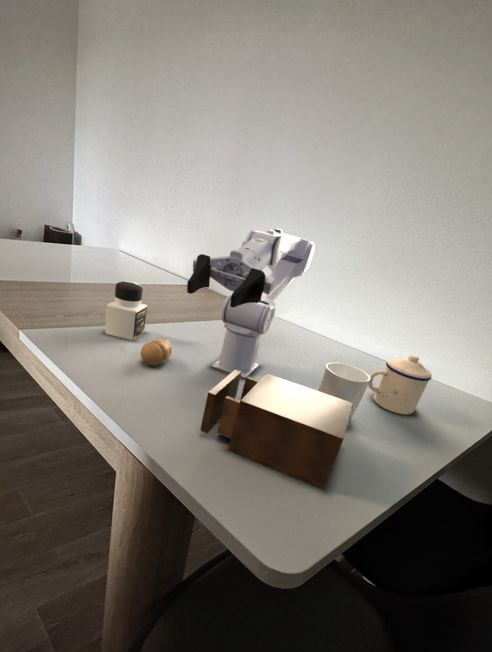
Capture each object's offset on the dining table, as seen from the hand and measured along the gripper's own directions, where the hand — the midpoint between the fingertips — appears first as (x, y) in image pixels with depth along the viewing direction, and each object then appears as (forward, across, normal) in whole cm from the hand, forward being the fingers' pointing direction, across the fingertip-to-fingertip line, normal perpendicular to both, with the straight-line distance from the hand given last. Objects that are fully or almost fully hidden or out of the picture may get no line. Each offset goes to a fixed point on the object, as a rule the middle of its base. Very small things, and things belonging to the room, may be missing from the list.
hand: (210, 294), depth 61 cm
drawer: (+8, +12, +17) cm, 22 cm away
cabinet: (+8, +19, +18) cm, 27 cm away
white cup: (-8, +24, +22) cm, 33 cm away
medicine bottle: (-12, -28, +25) cm, 39 cm away
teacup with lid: (-24, +33, +27) cm, 49 cm away
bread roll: (-4, -13, +22) cm, 26 cm away
